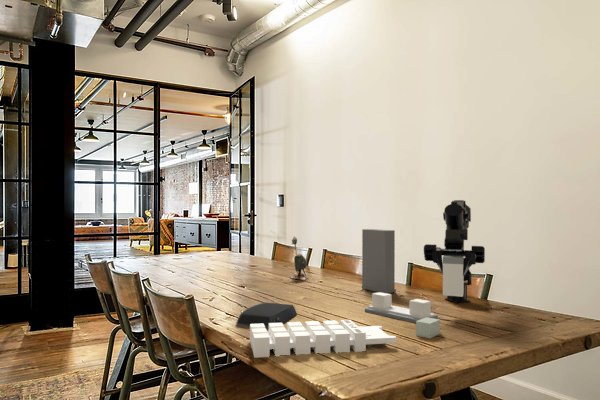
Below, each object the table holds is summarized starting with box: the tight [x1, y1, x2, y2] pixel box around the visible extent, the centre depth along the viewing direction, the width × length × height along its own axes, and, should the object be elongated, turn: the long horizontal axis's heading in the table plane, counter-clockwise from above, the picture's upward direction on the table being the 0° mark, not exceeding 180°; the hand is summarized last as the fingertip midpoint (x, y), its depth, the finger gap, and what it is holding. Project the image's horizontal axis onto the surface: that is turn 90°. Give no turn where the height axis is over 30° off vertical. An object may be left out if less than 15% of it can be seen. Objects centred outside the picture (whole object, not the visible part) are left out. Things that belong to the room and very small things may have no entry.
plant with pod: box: [289, 236, 309, 280], centre depth 225 cm, size 8×11×20 cm
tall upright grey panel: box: [361, 228, 397, 294], centre depth 195 cm, size 14×6×25 cm, turn 34°
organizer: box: [249, 319, 397, 358], centre depth 118 cm, size 13×5×35 cm
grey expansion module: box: [442, 255, 464, 297], centre depth 150 cm, size 5×6×12 cm
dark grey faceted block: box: [235, 301, 298, 330], centre depth 145 cm, size 13×19×4 cm
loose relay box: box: [415, 317, 441, 339], centre depth 129 cm, size 6×4×4 cm, turn 138°
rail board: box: [364, 292, 439, 324], centre depth 152 cm, size 10×21×6 cm, turn 41°
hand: (452, 274), depth 149 cm, fingers closed on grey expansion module, 6 cm apart
